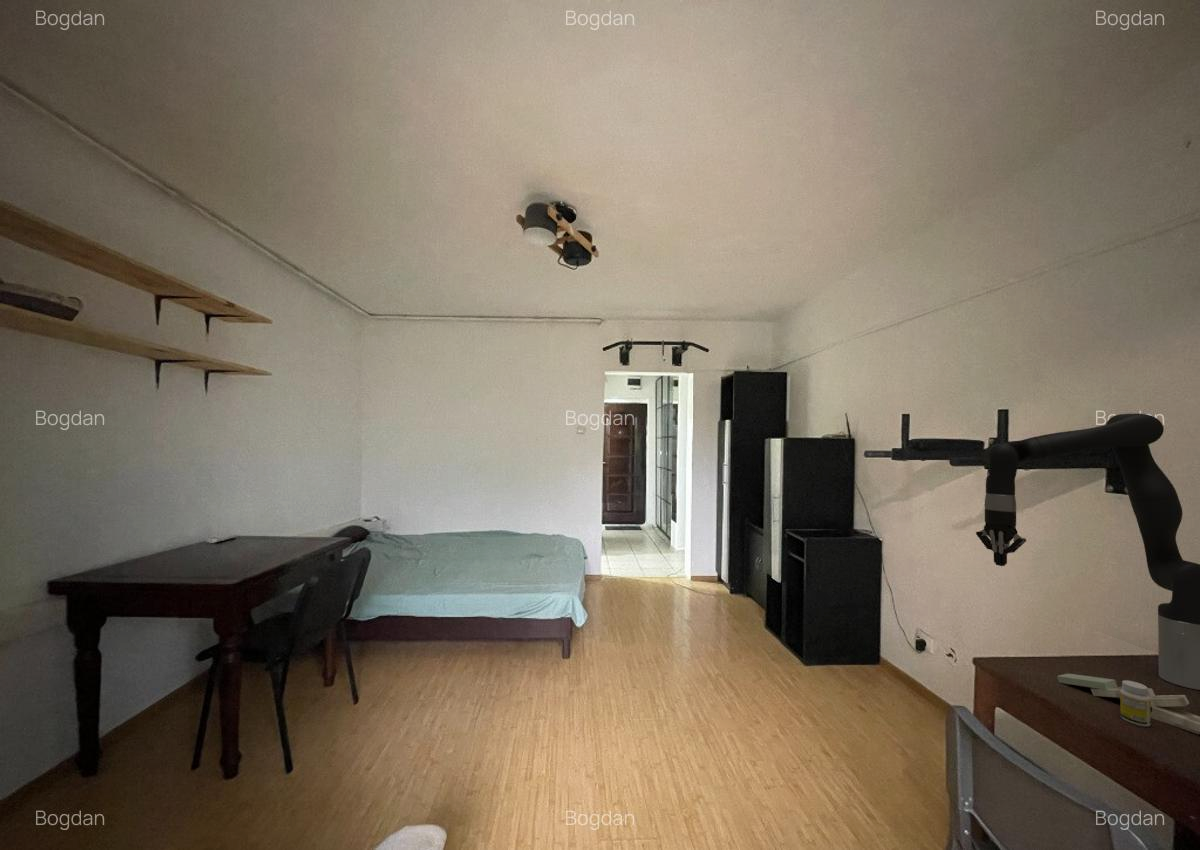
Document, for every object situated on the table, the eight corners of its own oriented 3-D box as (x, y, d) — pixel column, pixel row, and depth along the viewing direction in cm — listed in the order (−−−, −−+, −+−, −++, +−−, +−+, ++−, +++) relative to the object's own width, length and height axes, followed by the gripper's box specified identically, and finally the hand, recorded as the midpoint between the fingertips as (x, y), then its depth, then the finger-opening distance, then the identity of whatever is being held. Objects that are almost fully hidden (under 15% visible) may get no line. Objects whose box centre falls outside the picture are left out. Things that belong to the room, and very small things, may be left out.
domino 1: (1067, 673, 133) (1115, 679, 124) (1069, 679, 132) (1117, 686, 123) (1056, 676, 131) (1103, 682, 122) (1058, 682, 130) (1106, 689, 122)
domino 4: (1163, 703, 116) (1228, 727, 106) (1163, 710, 116) (1229, 734, 106) (1152, 707, 114) (1217, 731, 104) (1152, 714, 114) (1217, 738, 104)
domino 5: (1150, 706, 117) (1216, 728, 109) (1150, 712, 117) (1216, 735, 109) (1143, 710, 115) (1209, 733, 106) (1143, 717, 115) (1209, 741, 106)
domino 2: (1101, 685, 126) (1151, 688, 118) (1104, 692, 126) (1155, 696, 117) (1090, 688, 124) (1140, 691, 116) (1093, 695, 124) (1144, 699, 115)
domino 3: (1128, 696, 121) (1184, 695, 114) (1132, 703, 120) (1189, 702, 113) (1123, 699, 118) (1181, 698, 111) (1127, 706, 118) (1185, 706, 110)
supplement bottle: (1131, 715, 115) (1131, 679, 115) (1156, 726, 110) (1156, 689, 111) (1114, 715, 114) (1114, 679, 115) (1139, 727, 110) (1139, 690, 110)
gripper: (1033, 511, 144) (1033, 570, 144) (984, 505, 157) (984, 559, 156) (1018, 512, 142) (1018, 571, 141) (969, 506, 154) (969, 561, 153)
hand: (1000, 565), depth 148 cm, fingers closed
